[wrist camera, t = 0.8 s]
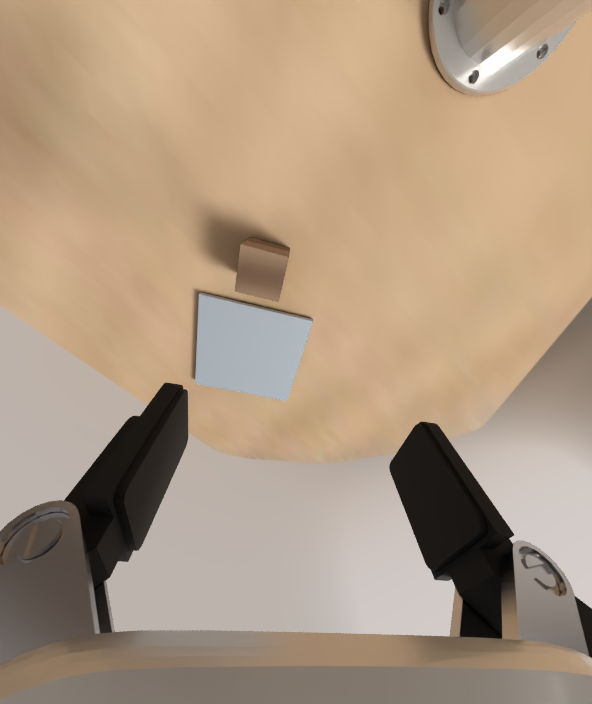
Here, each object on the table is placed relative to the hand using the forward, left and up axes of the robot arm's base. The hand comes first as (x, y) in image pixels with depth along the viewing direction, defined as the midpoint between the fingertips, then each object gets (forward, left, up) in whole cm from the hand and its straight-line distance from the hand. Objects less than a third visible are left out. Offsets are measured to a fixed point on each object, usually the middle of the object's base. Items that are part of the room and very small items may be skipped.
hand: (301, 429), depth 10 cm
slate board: (+14, -4, -25) cm, 29 cm away
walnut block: (0, -4, -26) cm, 26 cm away
